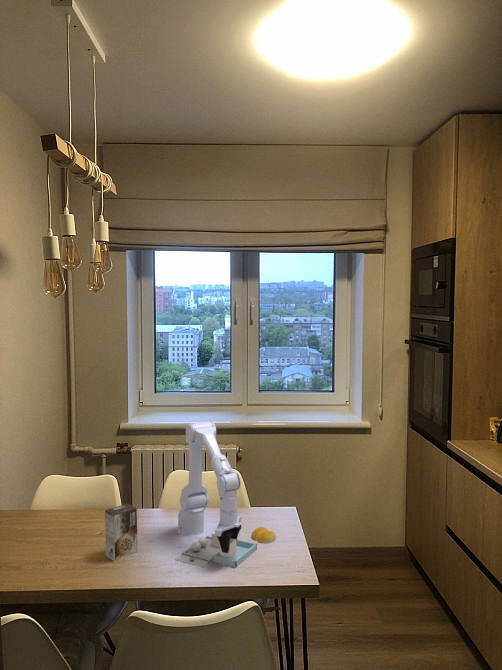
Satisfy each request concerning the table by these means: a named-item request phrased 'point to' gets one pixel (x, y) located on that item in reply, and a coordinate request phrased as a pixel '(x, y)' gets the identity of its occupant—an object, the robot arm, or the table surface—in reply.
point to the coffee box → (121, 531)
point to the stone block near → (230, 548)
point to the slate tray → (199, 554)
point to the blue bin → (236, 554)
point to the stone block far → (215, 540)
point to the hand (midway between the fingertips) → (228, 549)
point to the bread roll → (263, 535)
